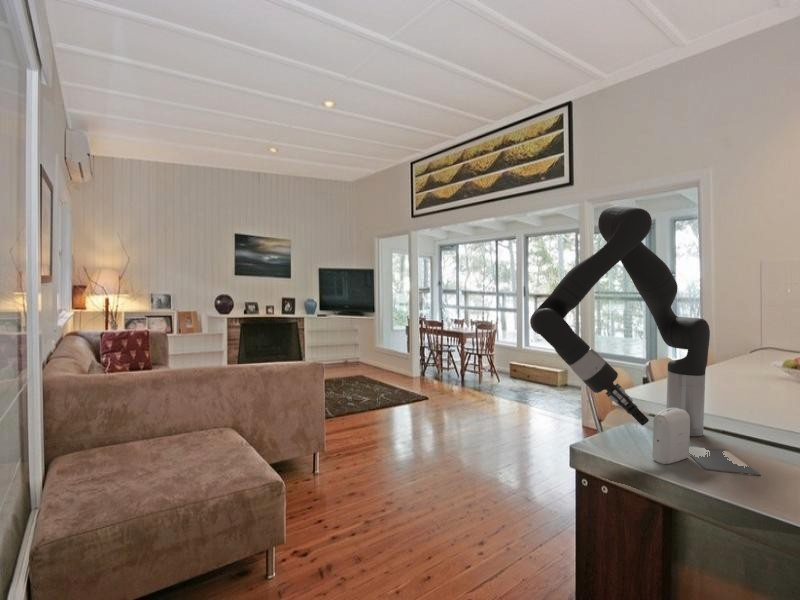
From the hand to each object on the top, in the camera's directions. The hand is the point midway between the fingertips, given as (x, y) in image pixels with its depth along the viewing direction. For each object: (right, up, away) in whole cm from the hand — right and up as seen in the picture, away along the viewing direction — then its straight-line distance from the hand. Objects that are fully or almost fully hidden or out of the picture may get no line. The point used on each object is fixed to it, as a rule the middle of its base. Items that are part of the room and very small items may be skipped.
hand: (645, 422), depth 108 cm
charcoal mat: (+17, -9, -1) cm, 19 cm away
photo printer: (+5, -9, -1) cm, 10 cm away
